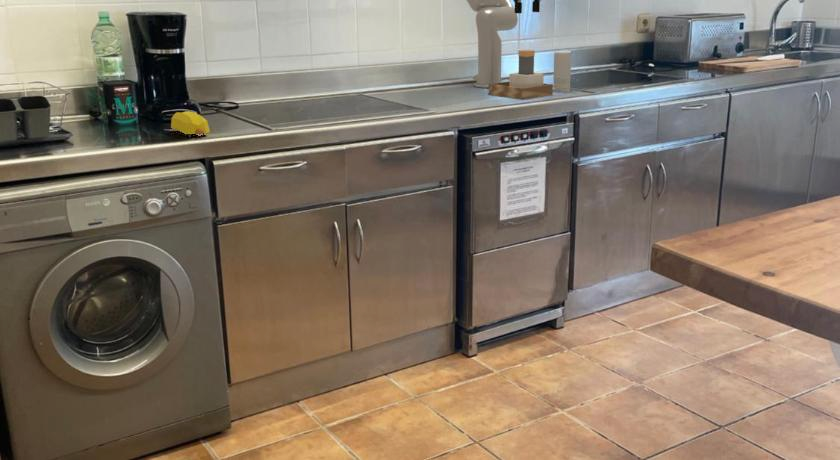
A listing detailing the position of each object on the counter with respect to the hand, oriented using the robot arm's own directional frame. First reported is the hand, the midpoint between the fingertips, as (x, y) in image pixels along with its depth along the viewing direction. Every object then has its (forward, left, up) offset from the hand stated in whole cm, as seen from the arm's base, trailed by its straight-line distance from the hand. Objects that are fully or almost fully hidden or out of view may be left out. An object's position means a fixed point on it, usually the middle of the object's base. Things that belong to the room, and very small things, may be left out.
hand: (527, 12), depth 311 cm
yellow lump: (-13, -133, -31) cm, 137 cm away
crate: (+5, -8, -30) cm, 32 cm away
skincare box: (+8, +12, -31) cm, 34 cm away
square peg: (+7, -7, -25) cm, 27 cm away
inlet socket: (+7, -7, -30) cm, 31 cm away
